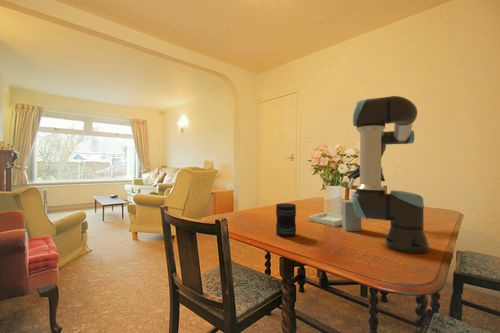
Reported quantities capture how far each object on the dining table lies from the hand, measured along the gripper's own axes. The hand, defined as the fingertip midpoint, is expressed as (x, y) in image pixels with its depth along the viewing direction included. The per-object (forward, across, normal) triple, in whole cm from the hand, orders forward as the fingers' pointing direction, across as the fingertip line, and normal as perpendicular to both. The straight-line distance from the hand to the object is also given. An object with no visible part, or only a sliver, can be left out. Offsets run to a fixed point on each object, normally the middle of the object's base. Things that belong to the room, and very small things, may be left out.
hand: (360, 188), depth 134 cm
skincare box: (+23, 0, -7) cm, 24 cm away
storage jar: (+46, +17, +16) cm, 52 cm away
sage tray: (+17, +18, -13) cm, 28 cm away
